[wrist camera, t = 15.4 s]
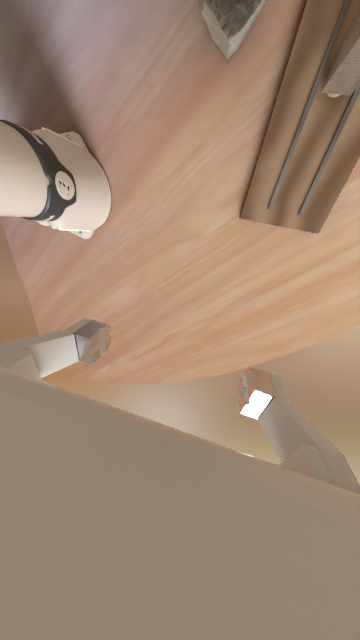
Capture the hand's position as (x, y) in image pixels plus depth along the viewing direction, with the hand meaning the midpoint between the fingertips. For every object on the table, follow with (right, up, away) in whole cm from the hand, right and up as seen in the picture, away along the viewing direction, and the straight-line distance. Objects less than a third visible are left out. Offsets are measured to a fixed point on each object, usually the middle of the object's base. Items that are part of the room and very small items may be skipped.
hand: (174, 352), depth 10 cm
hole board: (+22, +35, +14) cm, 43 cm away
